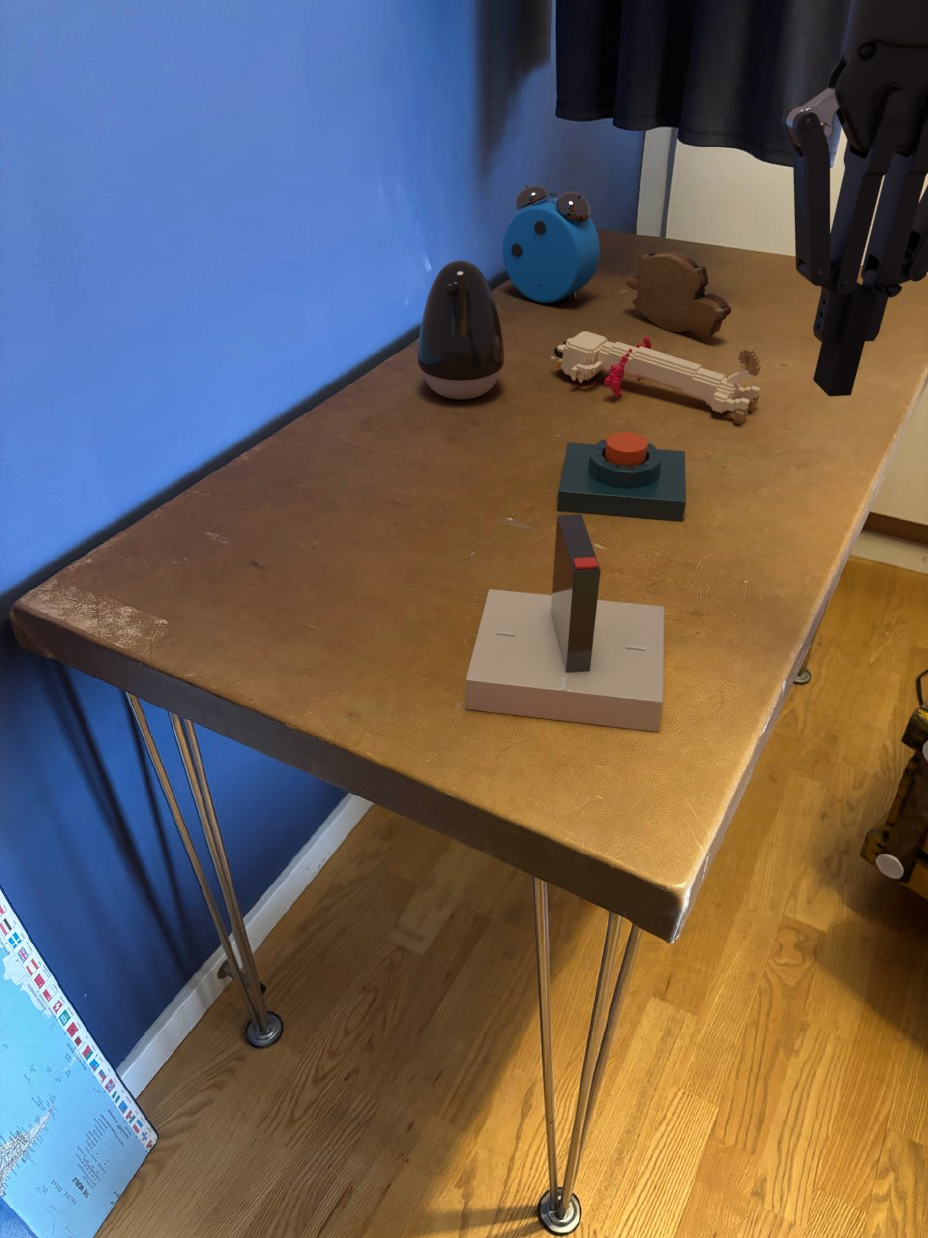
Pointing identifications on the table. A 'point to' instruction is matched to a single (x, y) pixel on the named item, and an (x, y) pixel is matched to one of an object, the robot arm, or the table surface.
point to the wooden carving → (677, 294)
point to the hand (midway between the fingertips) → (831, 387)
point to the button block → (623, 483)
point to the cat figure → (659, 371)
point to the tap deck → (534, 670)
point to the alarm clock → (550, 245)
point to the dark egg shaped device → (460, 334)
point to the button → (626, 449)
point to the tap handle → (574, 592)
